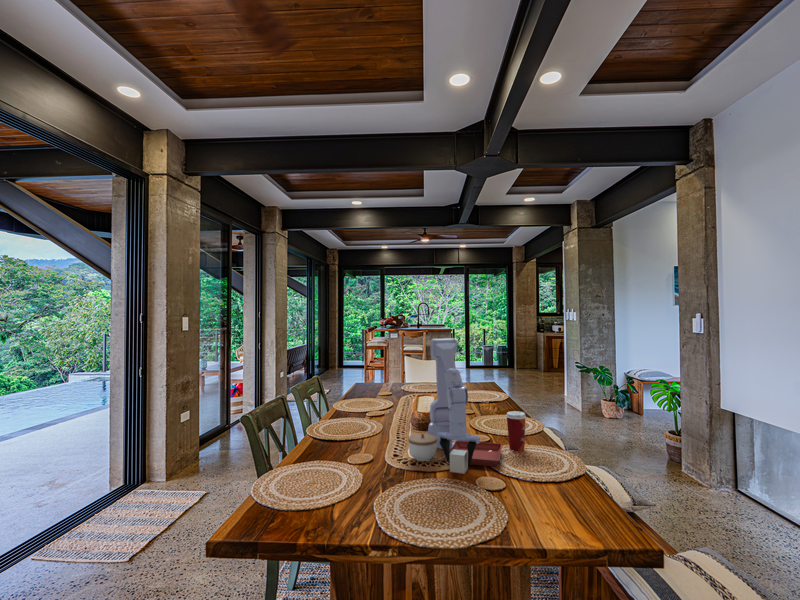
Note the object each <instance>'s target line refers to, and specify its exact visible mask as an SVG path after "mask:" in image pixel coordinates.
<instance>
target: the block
mask: <svg viewBox="0 0 800 600" xmlns="http://www.w3.org/2000/svg"><path fill="white" fill-rule="evenodd" d="M468 465H469V464H468V451H464V450H456V449H453V450H452V452H451V453H450V460H449V472H450V473H456V474H463V475H464V474H466V472H467V470H468V469H469V466H468Z"/></svg>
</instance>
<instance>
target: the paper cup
mask: <svg viewBox="0 0 800 600" xmlns="http://www.w3.org/2000/svg"><path fill="white" fill-rule="evenodd" d="M505 417H506V424H507V435H508V438H507V439H508V446H509V450H510V449H511V450H510V451H512V450H514V451H513V452H515V451H522V452H524V451H525V443H526V442H525V441H526V419H527V416H526V413H525V412H524V411H517V410H513V411H507V412H506V415H505ZM523 450H524V451H523Z"/></svg>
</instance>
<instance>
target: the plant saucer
mask: <svg viewBox="0 0 800 600" xmlns="http://www.w3.org/2000/svg"><path fill="white" fill-rule="evenodd" d="M454 442H455V443H454V445H453V447H452V448H451V449H450V453H451V452H452V450H453V449H456V450H464V451H468V448H467V444H468V443H469V442H464V441H455V440H454ZM502 447H503V444H502V443H498V442H497V443H495V442H482V441H480V443H479V444H477V445H476V447H475V450H474V453H473V456H472V463H471V464H470V465H471V466H472V465H473V466H485V467H496V466H497V464H499V462H500V461H501V460H500V459H501V455H502V454H501V453H502ZM489 450H492V452H488V451H489Z"/></svg>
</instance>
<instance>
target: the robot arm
mask: <svg viewBox="0 0 800 600" xmlns="http://www.w3.org/2000/svg"><path fill="white" fill-rule="evenodd" d="M429 346H430V348H429V349H430V357H431V359H434V361H435V370H436V371H435V372H436V373H435V377H436V399H434V401H432V402H431V403H430V407H429V408H430V409H429V419H430V423H429V424H428V428H427V434H431V435H434V436H436V437H437V449H441V450H442V451H443V453H444V457H445V460H446V461H445V462H450V451H451V449H452V447H453V445H454V443H455V441H464V442H469V443H468V444H467V448H468V465H471V463H472V456H473V453H474V450H475V447H476V445H477V444H479V443H480V442H481V436H478V435H473V434H470V433H467V405H466V404H468V402H469V393H468V388H467V386H466V384H464V383H463V379H462V376H461V372H460V371H459V369H457V368H456V360H455V356H456V355H457V352H458V341H457V339H456V338H455V337H452V338H451V337H449V338H447V337H446V338H432V339H431V340H430V345H429Z"/></svg>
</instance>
